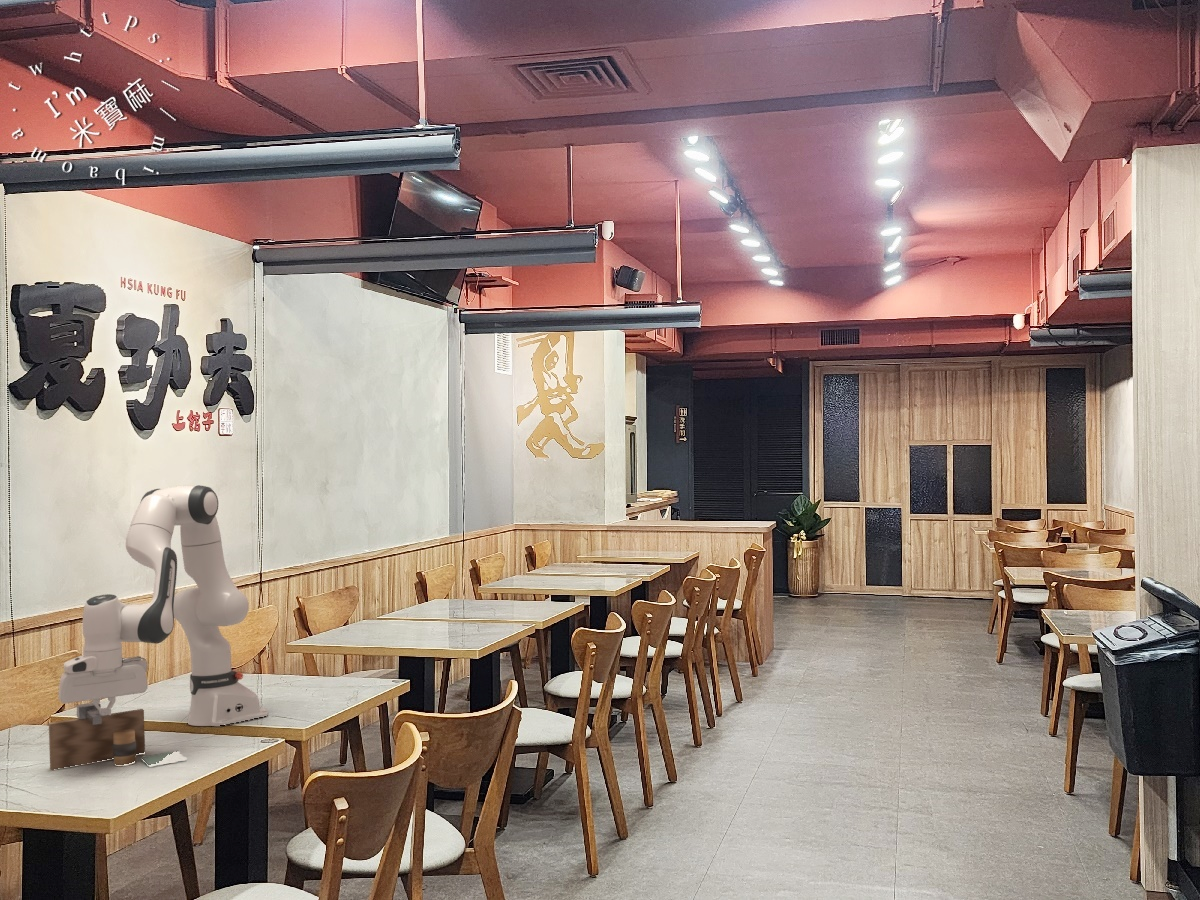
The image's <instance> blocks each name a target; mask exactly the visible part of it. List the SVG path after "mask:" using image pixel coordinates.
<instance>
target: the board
mask: <svg viewBox="0 0 1200 900" xmlns="http://www.w3.org/2000/svg"><path fill="white" fill-rule="evenodd" d="M101 718H102V724H96V725H92V724H91V723H90V722H89V721H88V719H87V718H85V719H78V718H73V719H67V720H66V719H65V720H61V721H54V722H49V723H48V741H49V743H48V745H49V770H50V771H51V770H52V771H55V770H54V769H57V770H59V769H58V768H63V769H65V768H64V767H69V768H71V767H70V766H75V765H80V766H82V765H81V764H86V765H88V764H87V763H92V762H97V761H102V760H107V759H112V758H114V756H113V742H114V741H113V733H114V732H116V731H120V730H135V740H136V754H139V753H144V752H145V753H146V739H145V738H146V737H145V733H146V731H145V710H144V709H143V708H139V709H132V710H131V709H130V710H126V711H120V712H119V711H118V712H111V715H109V716H102V717H101ZM92 764H93V763H92ZM75 767H76V766H75Z"/></svg>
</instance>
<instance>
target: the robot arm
mask: <svg viewBox="0 0 1200 900" xmlns="http://www.w3.org/2000/svg"><path fill="white" fill-rule="evenodd" d="M218 510H219V498H218V496H217V494H216V492H215V491H214V489H213V488H212V487H209V486H206V485H176V486H171V487H165V488H156V489H155V488H154V489H151V490H149V491H147V492H145V493H144V494H143V496H142V498H141V499H140V502H139V504H138V506H137V509H136V510H135V512H134V515H133V517H132V520H131V522H130V525H129V528H128V532H127V533H126V537H125V550H126V552H127V554H128V555H129V556H130V557H131V558H132V559H133V560H134V561H135V562H137V563H139V564H140V565H141V566H142V565H143V566H144V567H147V568H150V569H152V570H153V571H154V573H155V576H154V583H153V584H154V585H153V590H152V591H153V592H152V593H153V594H152V599H151V601H150V602H148V603H147V604H146V603H145V604H129V603H128V604H126V603H124V602H122V601H120V600H119V597H118V596H117V595H116V594H108V593H107V594H106V593H105V594H101V595H95V596H92V597H91V598H89V599H88V600H86V601H85V604H84V607H83V611H82V636H83V638H84V645H83V650H82V651H83V653H82V655H79V656H77V657H75V658H71V659H69V660H66V661H65V662H64V663H63V670H64V672H63V673H62V674H61V676H60V679H59V685H58V700H59V702H61V703H62V704H71V703H73V704H74V703H81V702H86V701H92V702H91V703H93V704H94V705H95V707H96V708H97V709H98V713H99V714H100V715H101V717H102V716H109V715H111V713H112V708H113V707H114V704H115V703H116V700H117V697H121V696H122V697H123V696H129V695H136V694H143V693H144V694H145V693H146V691H147V690H148V687H149V686H148V679H147V673H146V672H147V671H148V661H147V659H146V658H144V657H141V655H137V656H132V657H123V646H122V642H123V643H124V642H125V643H144V644H145V643H147V644H158V645H159V644H160V643H162V642H164V641H165V640H166V639H167V638H168V637H169V636H170V635H171V633H172V632H173V630H174V627H175V626H174V625H175V620H176V621H177V622H178V623H179V624H180V625H181V628H182V629H183V631H184V633H185V636H186V638H187V642H188V645H189V649H190V651H189V652H190V662H191V663H190V666H191V669H190V670H191V674H190V675H189V676H190V677H189V678H190V679H189V691H190V694H191V697H190V699H191V700H190V707H189V713H188V719H187V722H186V724H187V723H188V725H190V726H194V727H211V726H212V727H221V726H220V725H224V724H229V723H234V724H237V723H236V722H239V723H242V722H241V721H244V722H246V721H245V720H248V721H251V720H250V719H253V720H255V719H254V718H258V719H260V718H259V717H263V718H265V717H264V716H266V717H268V716H267V715H269V712H268V710H267V709H266V708H265V707H262V706H261V705H260V700H259V696H258V695H257V694H256V692H254V691H252V690H251V689H250V688H248V687H246V686H245V685H244V684H242V683H240V682H239V681H240V680H242V679H243V678H244V674H243V673H242V672H241V671H235V670H232V652H231V651H232V649H231V644H230V642H229V641H228V640H227V639H226V638H225V637H224V636H223V634H222V632H221V630H220V627H228V626H233V625H238V624H240V623H242V622H243V621H245V619H246V617H247V615H248V613H249V609H250V606H249V601H248V598H247V596H246V595H245V593H243V592H242V591H240V589H239V588H238V587H237V586H236V585H235V582H234V581H233V580H232V578H231V576H230V573H229V572H228V571H229V570H228V569H227V567H226V562H225V556H224V549H223V543H222V542H223V541H222V537H221V531H220V526H219V523H218V519H217V516H216V515H217V513H218ZM175 526H180V533H179V534H180V544H181V553H182V561H183V567H184V571H185V573H186V574H187V575H188V576H189V577H190V578H191V579H193V582H194V583H195V584H196V585H197V587H191V588H186V589H182V590H180V591H178V592H177V593H176V585H177V573H178V557H177V554H176V552H175V551H174V549H172V546H171V545H172V538H173V534H174V529H175ZM101 699H102V700H103V699H107V700H108V701H109V702H108V705H107V707H102V708H100V707H99V705H98V704H97V703H100V704H101Z"/></svg>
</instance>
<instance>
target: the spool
mask: <svg viewBox="0 0 1200 900" xmlns="http://www.w3.org/2000/svg"><path fill="white" fill-rule="evenodd" d="M113 741H114V742H113V756H114V760H113V765H114V764H116V765H124V764H129V763H132V762H134V761H136V760H137V758H136V757H137V756H136V740H135V730H120V731H116V732H114V733H113ZM136 762H137V761H136Z"/></svg>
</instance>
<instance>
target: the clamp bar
mask: <svg viewBox="0 0 1200 900" xmlns="http://www.w3.org/2000/svg"><path fill="white" fill-rule="evenodd" d="M97 704H98V705H99V707H100V708H101V707H102V706H101V702H100V703H97ZM76 717H77V719H85V718H87V719H88V721H89V722H90V723H91V724H92V725H96V724H102V718H101V715H100V714H99V713H98V709H97V708H96V707H95V705H94V704H93V702H89V703H88V702H87V703H81V704H76Z"/></svg>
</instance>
